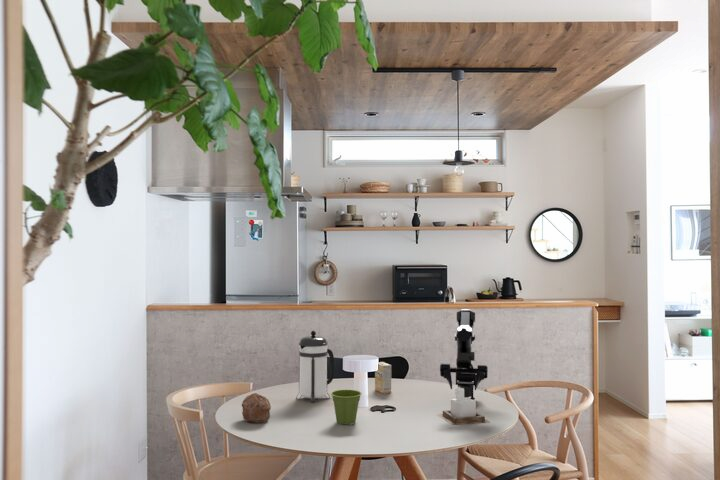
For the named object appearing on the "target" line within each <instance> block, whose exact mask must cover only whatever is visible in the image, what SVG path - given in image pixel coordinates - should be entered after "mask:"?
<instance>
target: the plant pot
mask: <svg viewBox="0 0 720 480" xmlns="http://www.w3.org/2000/svg"><path fill="white" fill-rule="evenodd" d="M362 394H363V393H362V392H361V391H360V390H356V389H337V390H334V391H333V390H332V391H331V392H330V395H331V397H332V401H333V405H334V413H335V421H336V423H337V424H339V425H354V424H355V423H356V422H357V414H358V408H359V402H360V400H361V399H360V398H361V396H362Z"/></svg>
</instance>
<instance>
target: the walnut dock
mask: <svg viewBox="0 0 720 480" xmlns="http://www.w3.org/2000/svg"><path fill="white" fill-rule="evenodd" d="M436 415H437V416H438V417H440V418H441V419H443V420H444V421H445V422H446V423H449V424H450V425H451V426H460V425H461V426H462V425H463V426H464V425H472V424H473V425H474V424H475V425H476V424H487V423H489V422H490V423H491V421H490V420H488V419H487V418H486V417H485V415H483V414H481V413H480V412H478V411H476V416H474V417H460V418H456V417H455V416H453V415H452V414H451V409H448V410H446V409H445V410H442V413H437V414H436ZM490 423H489V424H490Z"/></svg>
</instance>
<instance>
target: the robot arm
mask: <svg viewBox="0 0 720 480" xmlns="http://www.w3.org/2000/svg"><path fill="white" fill-rule="evenodd" d="M456 322H457V323H458V324H457V325H458V327H457V328H456V329H457V330H456V332H455V334H454V341H455V342H456V346H457V348H456V352H457V353H456V362H455V363H456V364H455V365H456V367H454V366H451V363H441V364H440V366H439V371H440V377H442V378H443V379H446V381H447V383H448V385H449V387H450V390H453V381H452V373H455V385H456V386H457V387H461V386H464V387H469V388H470V389H471V398H470V399H472V400H475V399H476V398H475V397H474V391H477V388H478V387H479V385H480V383H481V382H482V381H483V380H485V379H487V378H488V375H489V374H488V373H489V372H488V370H489V369H488V366H487V365H486V364H477V368H476V367H474V365H473V364H472V361H475V356H476V355H475V353H476V352H475V351H472V344H473V342H474V341H475V340H476V335H475V334H474V332H473V329H474V326H475V323H476V312H474V311H473V310H472V309H467V308H466V309H465V308H464V309H462V308H461V309H460V310H459V311H457V312H456Z"/></svg>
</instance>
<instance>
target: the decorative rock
mask: <svg viewBox="0 0 720 480" xmlns="http://www.w3.org/2000/svg"><path fill="white" fill-rule="evenodd" d="M241 408H242V411H241V412H242V418H243V420H244V421H245V422H249V423H255V424H257V423H259V424H260V423H262V422H266V421H268V420H270V417H271V412H270V411H271V408H272V406H271V403H270V400H269V399H268V398H267V397H266V396H263V395H261V394H259V393H257V392H255V393H251V394H250V395H247V396H245V397H244V399H243V400H242V403H241Z"/></svg>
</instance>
